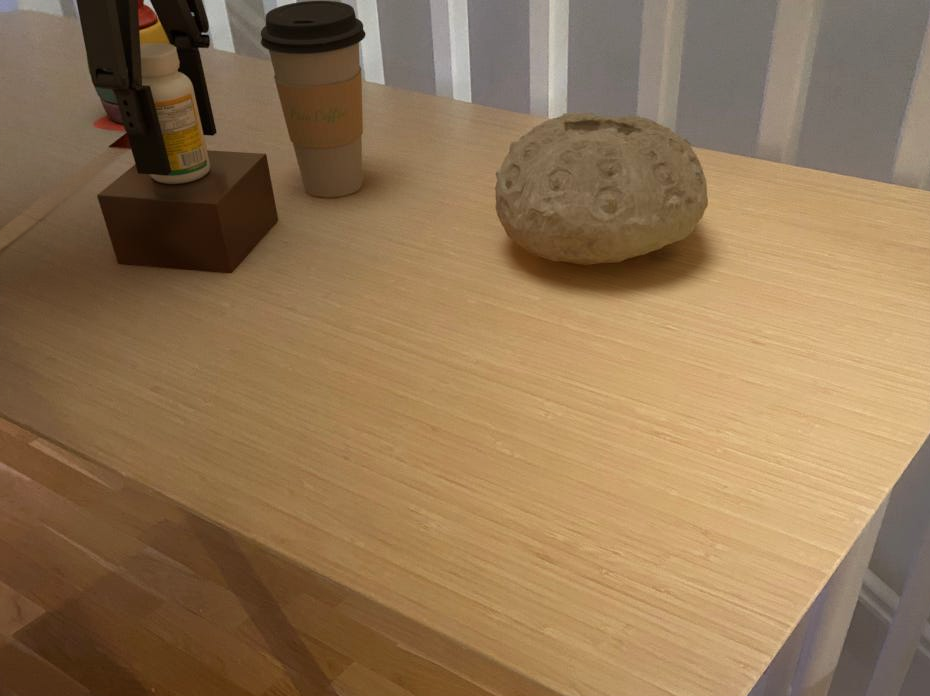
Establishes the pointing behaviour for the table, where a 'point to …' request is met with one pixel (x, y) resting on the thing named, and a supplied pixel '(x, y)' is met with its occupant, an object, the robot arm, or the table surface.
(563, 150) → the decorative shell
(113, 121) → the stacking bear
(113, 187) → the block
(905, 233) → the table surface
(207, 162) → the supplement bottle
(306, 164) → the coffee cup
